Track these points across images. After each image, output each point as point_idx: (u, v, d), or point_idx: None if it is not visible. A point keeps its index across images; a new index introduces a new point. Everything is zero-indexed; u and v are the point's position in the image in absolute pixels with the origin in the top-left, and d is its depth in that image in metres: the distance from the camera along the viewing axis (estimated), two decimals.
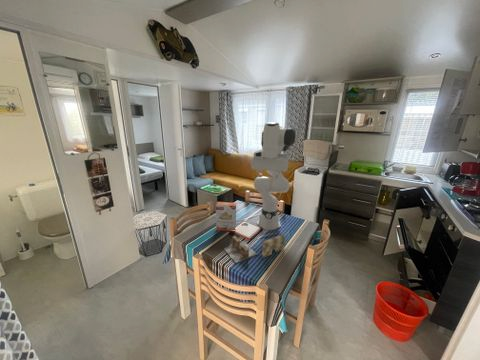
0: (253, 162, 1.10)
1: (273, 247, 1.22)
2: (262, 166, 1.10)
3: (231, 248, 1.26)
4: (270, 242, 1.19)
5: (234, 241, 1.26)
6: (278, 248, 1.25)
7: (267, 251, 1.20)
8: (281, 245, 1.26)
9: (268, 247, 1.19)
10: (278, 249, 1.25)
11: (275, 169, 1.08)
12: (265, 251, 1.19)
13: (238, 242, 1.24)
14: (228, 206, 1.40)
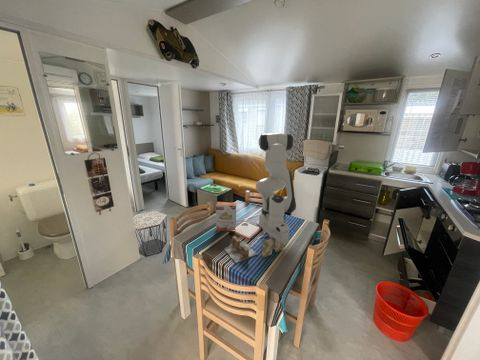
0: None
1: (273, 247, 1.22)
2: None
3: (231, 248, 1.26)
4: (270, 242, 1.19)
5: (234, 241, 1.26)
6: (278, 248, 1.25)
7: (267, 251, 1.20)
8: (281, 245, 1.26)
9: (268, 247, 1.19)
10: (278, 249, 1.25)
11: None
12: (265, 251, 1.19)
13: (238, 242, 1.24)
14: (228, 206, 1.40)
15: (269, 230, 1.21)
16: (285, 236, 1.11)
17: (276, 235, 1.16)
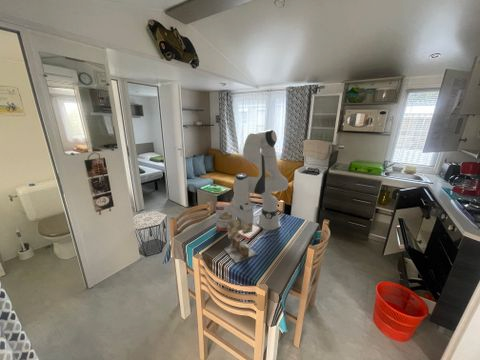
0: None
1: (240, 228, 1.18)
2: None
3: (231, 248, 1.26)
4: (236, 222, 1.15)
5: (234, 241, 1.26)
6: (246, 230, 1.21)
7: (233, 232, 1.16)
8: (249, 227, 1.21)
9: (234, 228, 1.15)
10: (246, 231, 1.21)
11: None
12: (230, 232, 1.15)
13: (238, 242, 1.24)
14: (228, 206, 1.40)
15: (235, 210, 1.17)
16: (249, 214, 1.07)
17: (241, 215, 1.12)
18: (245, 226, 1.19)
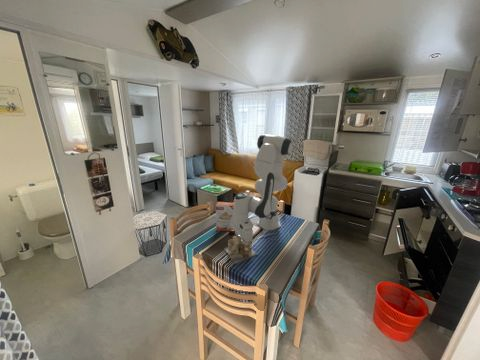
0: None
1: (239, 245, 1.21)
2: None
3: None
4: (236, 240, 1.19)
5: None
6: None
7: (233, 249, 1.19)
8: (248, 243, 1.25)
9: (234, 245, 1.19)
10: None
11: None
12: (231, 249, 1.18)
13: None
14: (228, 206, 1.40)
15: (235, 228, 1.21)
16: (248, 233, 1.11)
17: (241, 232, 1.16)
18: (245, 243, 1.23)
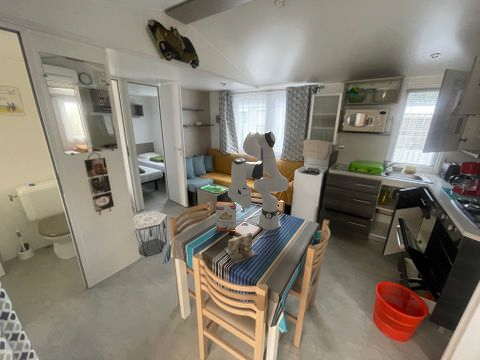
0: None
1: (239, 245, 1.21)
2: None
3: None
4: (236, 240, 1.19)
5: None
6: None
7: (233, 249, 1.19)
8: (248, 243, 1.25)
9: (234, 245, 1.19)
10: None
11: None
12: (231, 249, 1.18)
13: None
14: (228, 206, 1.40)
15: (233, 196, 1.18)
16: (247, 199, 1.08)
17: (239, 199, 1.13)
18: (245, 243, 1.23)
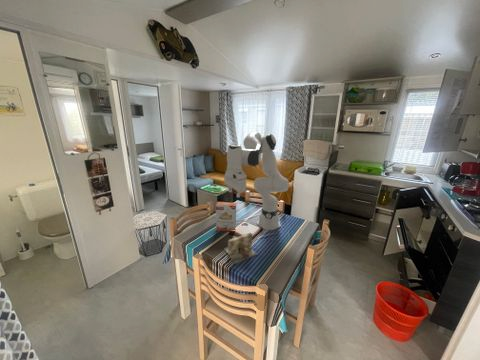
0: None
1: (239, 245, 1.21)
2: None
3: None
4: (236, 240, 1.19)
5: None
6: None
7: (233, 249, 1.19)
8: (248, 243, 1.25)
9: (234, 245, 1.19)
10: None
11: None
12: (231, 249, 1.18)
13: None
14: (228, 206, 1.40)
15: (229, 181, 1.20)
16: (242, 183, 1.10)
17: (234, 184, 1.15)
18: (245, 243, 1.23)
